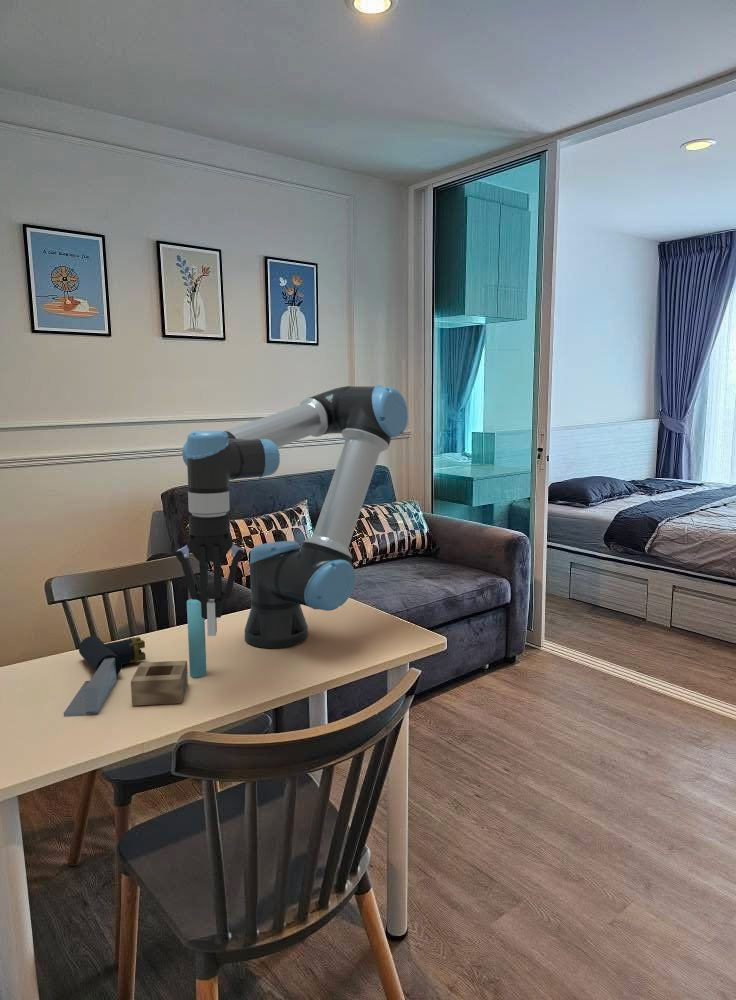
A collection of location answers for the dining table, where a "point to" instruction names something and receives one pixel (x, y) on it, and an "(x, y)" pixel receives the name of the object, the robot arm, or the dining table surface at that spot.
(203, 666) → the dowel
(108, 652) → the pipe connector
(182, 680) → the socket block
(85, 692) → the grey wedge ramp
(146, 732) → the dining table surface
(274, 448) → the robot arm
